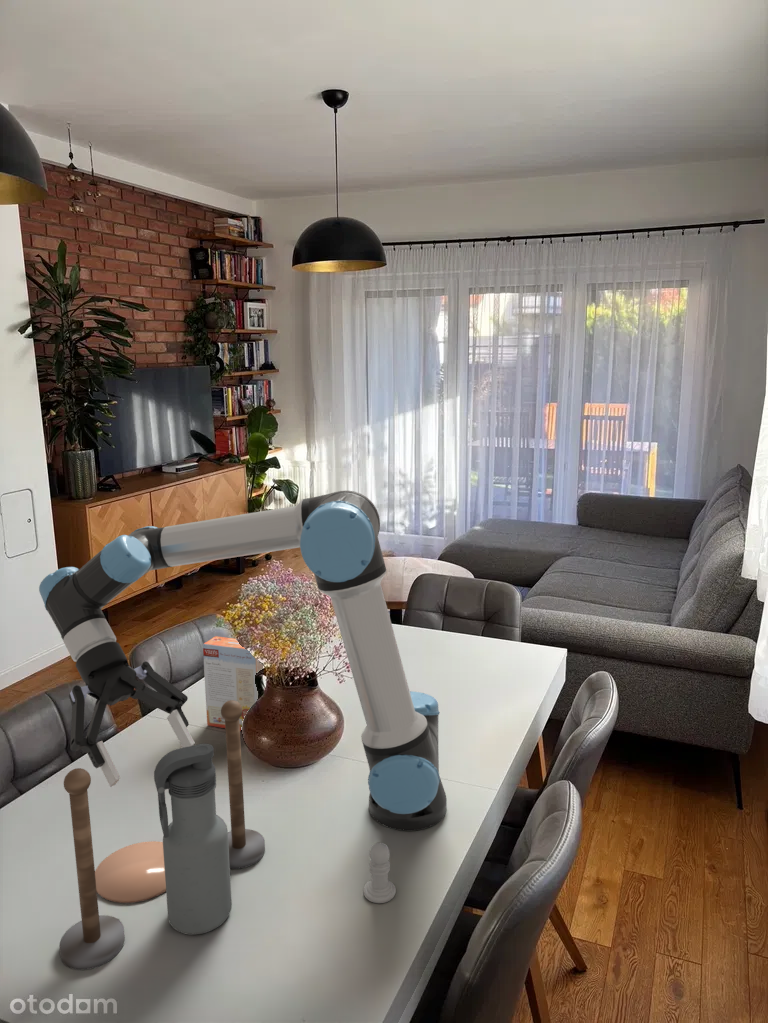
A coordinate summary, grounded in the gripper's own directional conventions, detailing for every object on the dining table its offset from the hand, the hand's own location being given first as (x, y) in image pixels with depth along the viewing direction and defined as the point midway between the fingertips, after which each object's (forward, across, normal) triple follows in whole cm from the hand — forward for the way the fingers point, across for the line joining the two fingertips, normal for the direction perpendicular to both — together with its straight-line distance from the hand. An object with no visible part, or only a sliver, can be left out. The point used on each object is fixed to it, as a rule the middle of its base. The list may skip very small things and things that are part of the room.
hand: (154, 764), depth 120 cm
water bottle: (+23, 0, -10) cm, 25 cm away
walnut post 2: (+18, -14, -15) cm, 27 cm away
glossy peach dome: (+11, 0, -21) cm, 24 cm away
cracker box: (-9, -45, -41) cm, 62 cm away
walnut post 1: (+18, +14, -15) cm, 27 cm away
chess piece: (+36, -22, +3) cm, 42 cm away
